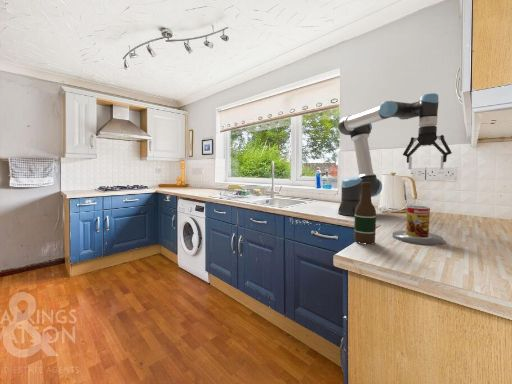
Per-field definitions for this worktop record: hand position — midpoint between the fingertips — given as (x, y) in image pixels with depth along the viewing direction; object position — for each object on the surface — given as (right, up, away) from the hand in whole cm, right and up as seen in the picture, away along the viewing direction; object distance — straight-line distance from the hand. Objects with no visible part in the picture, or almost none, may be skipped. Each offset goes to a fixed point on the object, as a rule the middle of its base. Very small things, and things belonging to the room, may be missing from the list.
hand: (425, 169), depth 127 cm
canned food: (-19, -30, -22) cm, 42 cm away
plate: (-19, -31, -22) cm, 42 cm away
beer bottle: (-43, -32, -27) cm, 59 cm away
